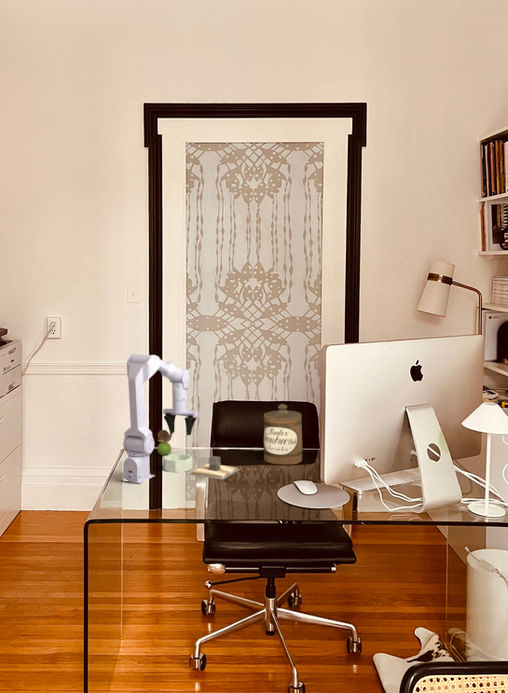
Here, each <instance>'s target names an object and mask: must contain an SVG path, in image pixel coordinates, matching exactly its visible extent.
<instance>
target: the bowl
mask: <svg viewBox="0 0 508 693" xmlns="http://www.w3.org/2000/svg"><path fill="white" fill-rule="evenodd" d="M162 466H163V467H162V468H163V469H164V471H166V472H169V473H182V472H188V471H190V470H191V469H193V456H192V455H190V454H189V453H188V454H187V453H172V454H171V453H169V454H168V455H166V456H163V458H162Z"/></svg>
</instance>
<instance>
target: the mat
mask: <svg viewBox="0 0 508 693" xmlns="http://www.w3.org/2000/svg"><path fill="white" fill-rule="evenodd" d="M240 470H241V468H237V470H235V471H234V472H232V473H230V474H228V475H227V476H225V477H223V478H216V477H209V476H202V475H194V474H192V472H190V473H188V476H195V477H202V478H209V479H217V480H222V481H223V480H225V479H227V478H228V477H230V476H231V475H233V474H235V473H237V472H238V471H240Z"/></svg>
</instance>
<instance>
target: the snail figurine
mask: <svg viewBox="0 0 508 693" xmlns="http://www.w3.org/2000/svg"><path fill="white" fill-rule="evenodd" d="M172 437H173V433H172V434H171V433H170V432H169V431H168V430H166V429H161V430H159V431H158V432H157V438H158V439H157V441H158V442H159V444H158V445H157V452H158V454H159V455H160V456H163V457H165V456H167V455H169V454H171V452H172V446H171V444H170V443H169V442H170V441H171V440H172Z"/></svg>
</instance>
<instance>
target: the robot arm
mask: <svg viewBox="0 0 508 693" xmlns="http://www.w3.org/2000/svg"><path fill="white" fill-rule="evenodd" d="M126 371H127V372H126V373H127V374H126V375H127V376H126V377H127V380H128V382H127V384H128V398H129V399H128V400H129V416H130V417H129V419H130V427H129V428H128V429H126V430H125V431H124V434H123V435H124V437H123V442H122V443H123V444H122V446H123V449H124V451H125V452H126V455H128V457H127V458H126V459H125V460H124V462H123V464H122V466H123V467H122V468H123V471H122V472H123V479H126V480H128V481H130V482H129V483H133V484H142V483H144V482H146V481H147V480H149V479H151V478H153V477H156V475H155V474H151V470H150V468H151V467H150V465H151V464H150V455H151V454H152V452H153V451H154V450H155V449H154V448H155V439H154V437H153V432H152V431H151V429H149V427H148V426H147V418H146V417H147V416H146V399H145V398H146V396H145V382H146V381H148V380H150V378H151V377H153V376H154V374H156V373H157V372H158V371H159V372H160V373H161V374H160V375H161V376H163V377H164V378H167V379H168V380H169V383H171V384H172V386H171V387H172V388H171V389H172V408H163V409H162V415H164V416H163V419H164V420H165V422H166V424H167V427H168V430H169V431H168V432H169V434H170V433H171V434H172V433H175V431H176V430H175V428H176V427H175V425H176V424H175V422H176V416H181V417H185V418H184V421H185V426H186V427H185V429H186V436H192V431H193V427H194V425H195V423H196V421H197V417H198V413H199V412H198V411H195V410H190V409H188V388H189V385H190V384H189V383H190V380H191V374H190V372H189V370H188V369H187V368H181V367H180V365H175V362H174V361H168V362H165V361H164V360H162V359H161V358H160V356H158V355H156V354H136V353H132V354H131V355H130V356H129V358H127V361H126ZM172 435H173V434H172Z"/></svg>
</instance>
